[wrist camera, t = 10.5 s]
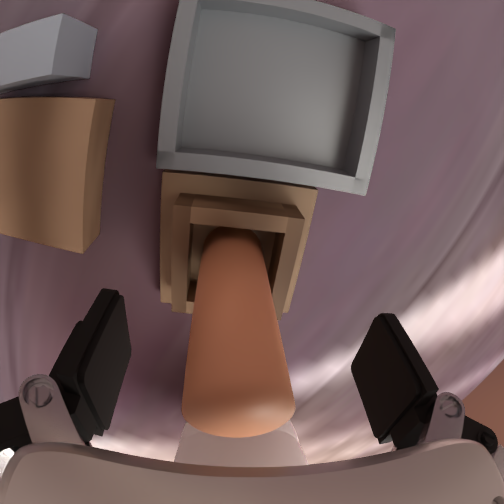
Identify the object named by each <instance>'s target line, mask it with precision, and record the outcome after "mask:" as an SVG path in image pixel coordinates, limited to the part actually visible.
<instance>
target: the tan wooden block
mask: <svg viewBox="0 0 504 504" xmlns="http://www.w3.org/2000/svg"><path fill="white" fill-rule="evenodd" d="M114 104H115V100H114V99H102V98H86V97H59V96H35V97H9V98H0V233H1V234H4V235H8V236H12V237H16V238H20V239H24V240H27V241H31V242H35V243H39V244H43V245H47V246H52V247H56V248H60V249H64V250H68V251H72V252H77V253H81V254H83V253H84V252H85V251H86V249H87V248H88V247H89V246H90V245H91V243H92V242H93V241H94V240H95V239H96V238H97V236H98V235H99V234H100V215H101V200H102V187H103V177H104V168H105V159H106V152H107V145H108V138H109V132H110V126H111V120H112V114H113V109H114Z"/></svg>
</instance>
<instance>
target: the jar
mask: <svg viewBox="0 0 504 504" xmlns="http://www.w3.org/2000/svg"><path fill="white" fill-rule="evenodd" d="M174 462H178V463H186V464H196V465H208V466H225V467H283V466H299V465H309V464H308V461H307V459H306V456H305V454H304V451H303V449H302V447H301V445H300V444H299V440H298V436H297V434H296V431H295V429H294V427H293V425H292V423H291V421H290V420H289V421H288V422H286V423H285V424H284V425H282V426H281V427H279V428H277V429H275V430H273V431H271V432H268V433H265V434H261V435H257V436H251V437H241V438H231V437H221V436H215V435H211V434H208V433H205V432H202V431H200V430H198V429H196V428H194V427H193V426H191V425H190V424H189V423H188V422H186V424H185V426H184V428H183V431H182V434H181V438H180V442H179V447H178V450H177V453H176V456H175V460H174Z"/></svg>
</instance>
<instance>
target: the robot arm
mask: <svg viewBox="0 0 504 504" xmlns="http://www.w3.org/2000/svg"><path fill="white" fill-rule="evenodd" d="M130 357H131V344H130V338H129V332H128V326H127V319H126V312H125V304H124V297H123V296H122V295H119V292H118V291H117V290H111V289H105V288H103V289H102V290H101V291H100V293H99V295H98V296H97V298H96V300H95V301H94V303H93V305H92V306H91V308H90V310H89V311H88V313H87V315H86V317H85V318H84V320H83V321H79V322H78V323H77V324H76V326H75V327H74V329H73V331H72V333H71V334H70V336H69V338H68V340H67V342H66V344H65V345H64V347H63V349H62V351H61V353H60V355H59V357H58V359H57V360H56V362H55V364H54V366H53V368H52V370H51V372H50V374H49V376H47V375H43V374H37V375H32V376H30V377H28V378H27V379H26V380H24V381H23V383H22V384H21V386H20V389H19V396H18V397H16V398H13V399H11V400H8V401H6V402H3V403H1V404H0V504H504V448H503V447H502V446H501V445H499V446H498V441H497V437H496V435H495V433H494V432H493V431H492V430H491V429H490V428H488V427H486V426H484V425H482V424H480V423H478V422H476V421H474V420H472V419H470V418H469V417H467V416H465V407H464V404H463V403H462V401H461V400H460V399H459V398H458V397H457V396H456V395H454V394H452V393H449V392H444V393H441V394H439V395H438V396H437V394H436V392H437V391H438V390H439V389H438V387H437V385H436V383H435V381H434V379H433V378H432V376H431V374H430V372H429V370H428V369H427V367H426V365H425V363H424V362H423V360H422V358H421V357H420V355H419V353H418V351H417V350H416V348H415V346H414V345H413V343H412V341H411V340H410V338H409V336H408V335H407V333H406V332H405V330H404V328H403V327H402V325H401V324H400V322H399V320H398V319H397V317H396V316H395V315H394V314H392V313H381V314H379V315H378V316H377V317H375V318H374V320H373V322H372V324H371V326H370V328H369V330H368V333H367V335H366V337H365V339H364V341H363V343H362V345H361V347H360V349H359V351H358V352H357V354H356V356H355V358H354V360H353V362H352V365H351V371H352V374H353V377H354V380H355V383H356V385H357V388H358V391H359V394H360V396H361V399H362V402H363V405H364V408H365V411H366V414H367V417H368V420H369V422H370V425H371V428H372V431H373V434H374V436H375V437H376V438H378V441H379V444H383V443H388V442H391V441H392V440H393V443H394V446H393V448H392V451H391V452H387V453H382V454H378V455H373V456H368V457H362V458H357V459H351V460H344V461H337V462H329V463H321V464H311V465H299V466H283V467H225V466H208V465H196V464H186V463H178V462H170V461H163V460H157V459H150V458H144V457H139V456H133V455H128V454H123V453H119V452H114V451H109V450H104V449H99V448H95V447H92V445H91V443H90V440H92V437H93V434H95V435H99V436H103V432H104V429H105V430H108V429H109V427H110V423H111V420H112V416H113V413H114V409H115V406H116V402H117V399H118V395H119V392H120V389H121V385H122V382H123V379H124V376H125V372H126V369H127V366H128V363H129V360H130ZM497 446H498V447H497Z"/></svg>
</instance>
